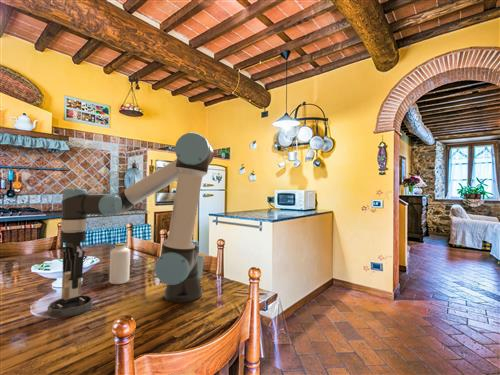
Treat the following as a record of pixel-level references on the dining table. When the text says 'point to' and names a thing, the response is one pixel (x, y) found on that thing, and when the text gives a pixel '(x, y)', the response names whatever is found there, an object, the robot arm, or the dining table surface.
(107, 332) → the dining table surface
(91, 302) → the tin
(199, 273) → the cup
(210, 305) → the dining table surface
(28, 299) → the dining table surface
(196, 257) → the robot arm
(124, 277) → the potion bottle
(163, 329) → the dining table surface
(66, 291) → the tan rectangular block
